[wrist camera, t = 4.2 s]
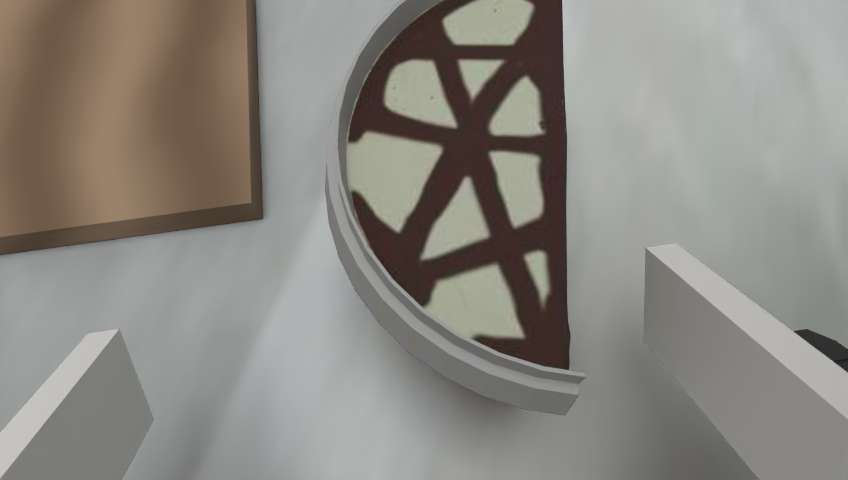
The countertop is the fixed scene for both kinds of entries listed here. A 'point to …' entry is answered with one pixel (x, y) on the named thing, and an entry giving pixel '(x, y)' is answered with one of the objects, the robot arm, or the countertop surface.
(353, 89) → the food container
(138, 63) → the walnut board
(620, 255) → the countertop surface
